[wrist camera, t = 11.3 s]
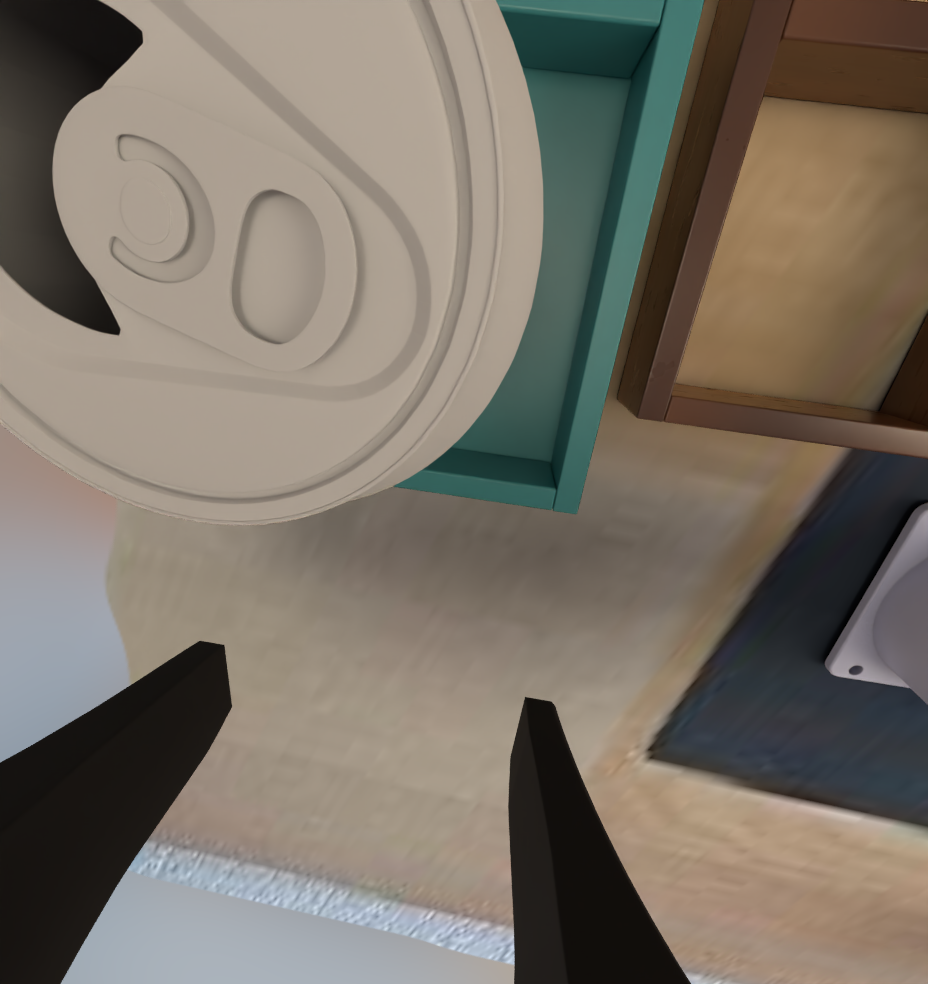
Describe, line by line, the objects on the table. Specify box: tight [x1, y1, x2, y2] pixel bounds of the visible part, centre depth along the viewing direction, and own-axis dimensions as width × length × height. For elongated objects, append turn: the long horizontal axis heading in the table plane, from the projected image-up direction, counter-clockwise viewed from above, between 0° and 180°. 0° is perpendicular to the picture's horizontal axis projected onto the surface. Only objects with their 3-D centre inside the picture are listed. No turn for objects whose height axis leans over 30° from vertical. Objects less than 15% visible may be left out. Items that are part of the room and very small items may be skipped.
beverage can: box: [0, 0, 543, 526], centre depth 9 cm, size 6×6×12 cm
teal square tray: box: [393, 0, 704, 514], centre depth 13 cm, size 12×13×3 cm
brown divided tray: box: [617, 0, 928, 459], centre depth 11 cm, size 9×18×3 cm, turn 173°
